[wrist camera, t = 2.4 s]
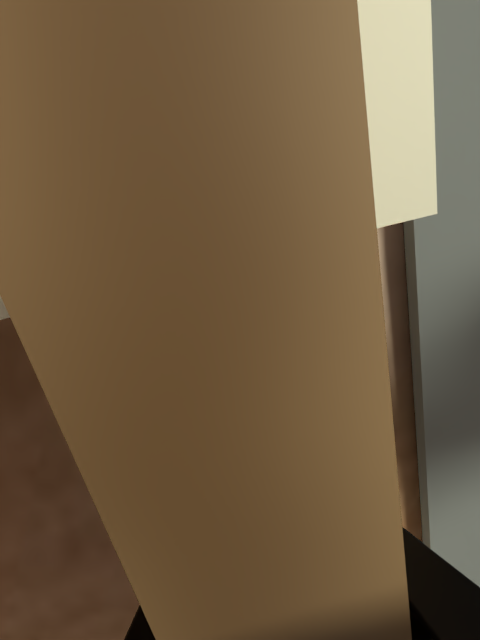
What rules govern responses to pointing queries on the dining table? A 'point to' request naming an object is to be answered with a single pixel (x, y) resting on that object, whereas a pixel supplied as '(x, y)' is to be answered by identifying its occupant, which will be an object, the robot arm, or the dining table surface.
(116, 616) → the dining table surface
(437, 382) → the mat
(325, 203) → the rail
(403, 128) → the post
